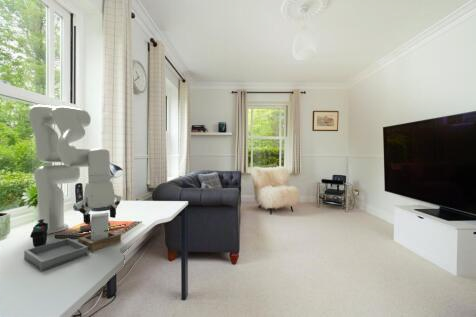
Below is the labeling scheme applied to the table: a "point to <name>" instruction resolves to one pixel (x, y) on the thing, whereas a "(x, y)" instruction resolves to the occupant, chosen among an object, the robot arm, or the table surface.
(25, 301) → the table surface
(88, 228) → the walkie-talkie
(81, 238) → the holder
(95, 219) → the skincare box
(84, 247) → the tray
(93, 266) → the table surface
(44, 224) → the controller
